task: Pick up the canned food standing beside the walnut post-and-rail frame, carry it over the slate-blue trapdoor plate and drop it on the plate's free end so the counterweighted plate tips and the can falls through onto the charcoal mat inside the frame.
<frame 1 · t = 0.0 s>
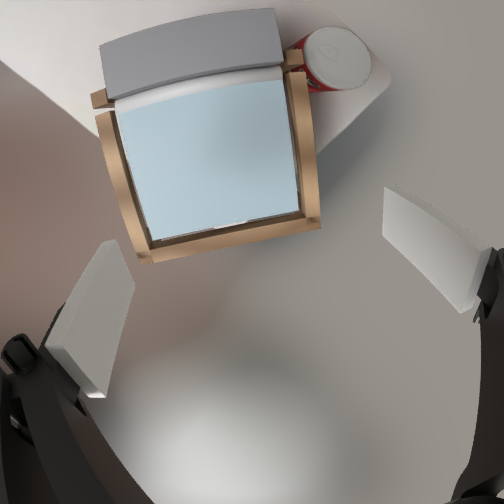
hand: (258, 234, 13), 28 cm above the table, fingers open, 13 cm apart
trapdoor: (204, 125, 22), point 14 cm above the table, hinge at 0.0°
canned food: (307, 67, 33), on the table
frame: (202, 94, 33), on the table
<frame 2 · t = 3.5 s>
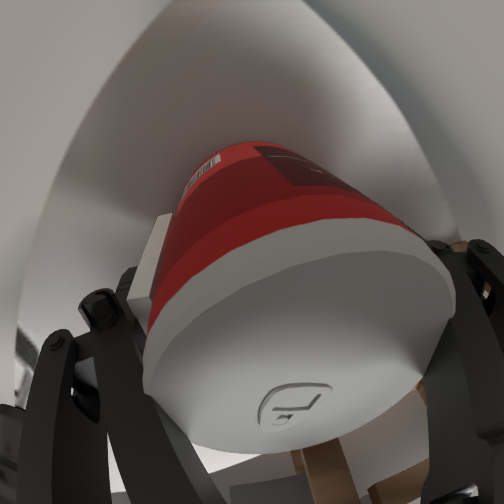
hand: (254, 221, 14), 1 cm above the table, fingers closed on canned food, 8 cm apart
trapdoor: (398, 496, 11), point 14 cm above the table, hinge at 0.0°
canned food: (250, 211, 15), on the table, touching gripper
frame: (299, 369, 23), on the table
when the fingers open (19 cm above the table, at t = 7.9 s): canned food drops 6 cm, resting on frame, trapdoor.
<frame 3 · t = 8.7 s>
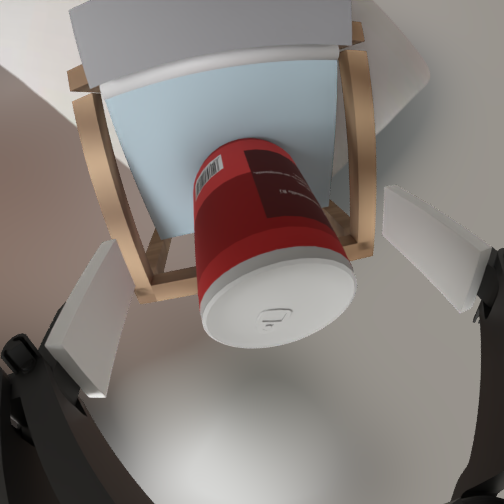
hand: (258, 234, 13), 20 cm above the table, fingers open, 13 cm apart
trapdoor: (227, 111, 16), point 13 cm above the table, hinge at -19.0°, touching canned food
canned food: (244, 181, 20), point 11 cm above the table, touching frame, trapdoor
frame: (215, 80, 26), on the table
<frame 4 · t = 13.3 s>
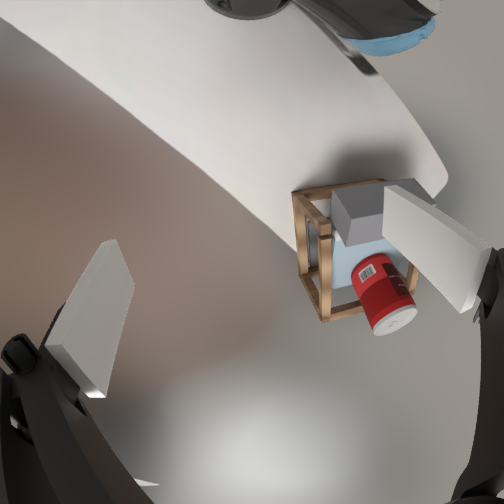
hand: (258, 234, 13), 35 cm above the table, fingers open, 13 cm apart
trapdoor: (373, 243, 41), point 13 cm above the table, hinge at -19.0°, touching canned food
canned food: (369, 267, 45), point 11 cm above the table, touching frame, trapdoor
frame: (340, 195, 50), on the table
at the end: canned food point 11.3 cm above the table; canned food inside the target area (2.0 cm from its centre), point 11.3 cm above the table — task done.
